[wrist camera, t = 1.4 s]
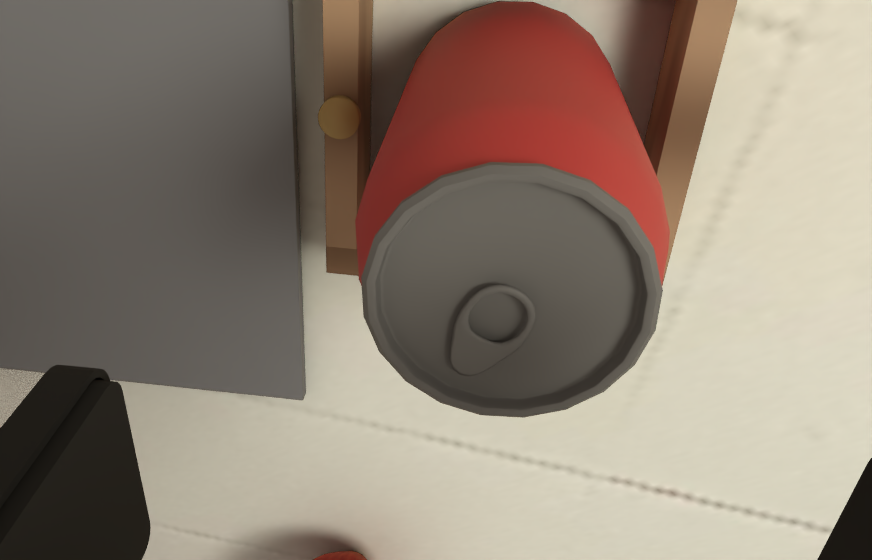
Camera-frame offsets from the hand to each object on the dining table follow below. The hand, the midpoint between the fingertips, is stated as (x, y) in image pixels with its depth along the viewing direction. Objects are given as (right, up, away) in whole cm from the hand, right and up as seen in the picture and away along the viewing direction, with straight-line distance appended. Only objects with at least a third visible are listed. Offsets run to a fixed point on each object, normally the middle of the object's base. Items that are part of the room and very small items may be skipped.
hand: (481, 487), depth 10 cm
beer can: (+2, +9, +15) cm, 17 cm away
